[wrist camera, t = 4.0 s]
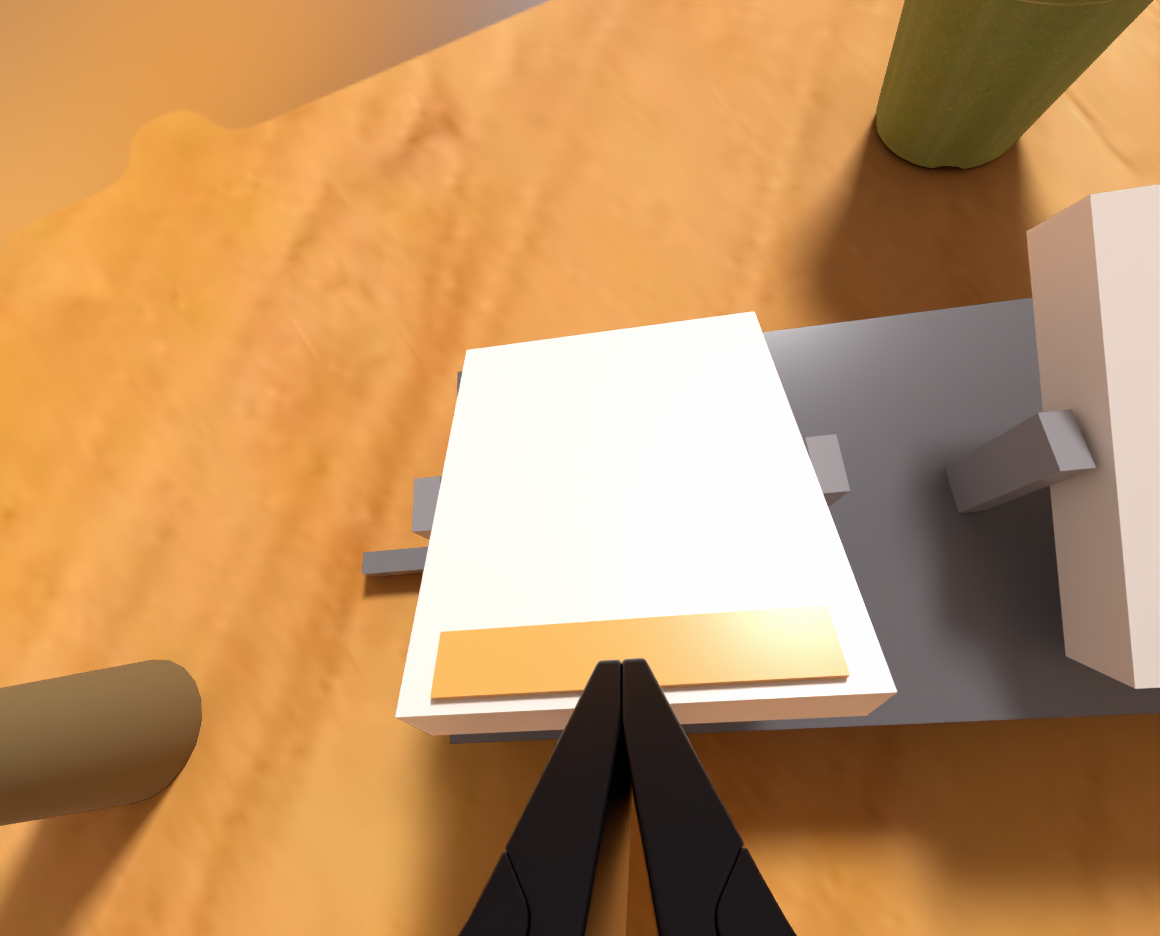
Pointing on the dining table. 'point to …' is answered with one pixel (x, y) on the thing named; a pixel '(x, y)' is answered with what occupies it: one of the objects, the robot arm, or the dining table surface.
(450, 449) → the orange striped rocker plate
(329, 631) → the dining table surface
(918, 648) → the rocker switch box
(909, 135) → the plant pot
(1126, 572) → the white rocker
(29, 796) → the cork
